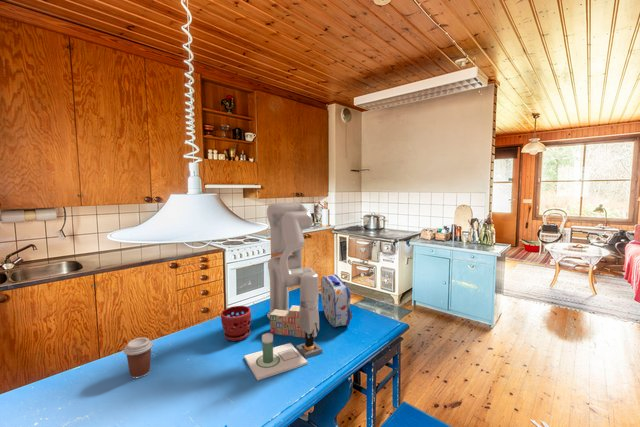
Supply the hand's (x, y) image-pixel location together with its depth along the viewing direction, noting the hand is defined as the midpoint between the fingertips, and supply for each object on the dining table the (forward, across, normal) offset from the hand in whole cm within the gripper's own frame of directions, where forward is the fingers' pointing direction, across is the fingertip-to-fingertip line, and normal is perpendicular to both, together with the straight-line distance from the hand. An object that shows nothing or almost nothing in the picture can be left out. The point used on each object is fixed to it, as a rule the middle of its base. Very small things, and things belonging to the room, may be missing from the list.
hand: (309, 345), depth 129 cm
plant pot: (+3, -27, -23) cm, 36 cm away
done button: (+2, 0, 0) cm, 2 cm away
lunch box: (+3, -20, +26) cm, 32 cm away
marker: (+1, 0, -18) cm, 18 cm away
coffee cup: (+3, -17, -61) cm, 63 cm away
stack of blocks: (+3, -17, +1) cm, 17 cm away
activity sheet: (+2, 0, -15) cm, 15 cm away
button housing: (+2, 0, 0) cm, 2 cm away
